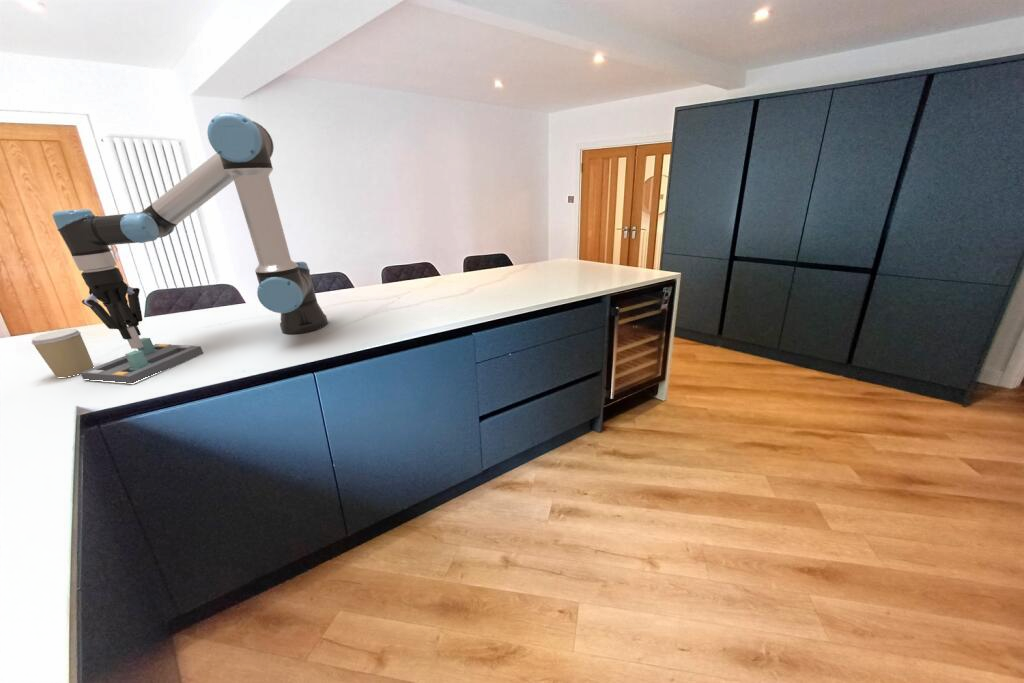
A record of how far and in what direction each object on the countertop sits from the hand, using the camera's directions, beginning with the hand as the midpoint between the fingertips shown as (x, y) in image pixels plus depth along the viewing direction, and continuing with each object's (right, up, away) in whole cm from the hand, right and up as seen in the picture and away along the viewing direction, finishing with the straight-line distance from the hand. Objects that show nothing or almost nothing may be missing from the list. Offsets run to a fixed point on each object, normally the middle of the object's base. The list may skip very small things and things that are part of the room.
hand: (137, 347), depth 115 cm
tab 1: (0, -3, +3) cm, 4 cm away
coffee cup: (-16, -7, -2) cm, 18 cm away
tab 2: (+7, -6, -6) cm, 11 cm away
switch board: (+4, -6, -1) cm, 7 cm away
